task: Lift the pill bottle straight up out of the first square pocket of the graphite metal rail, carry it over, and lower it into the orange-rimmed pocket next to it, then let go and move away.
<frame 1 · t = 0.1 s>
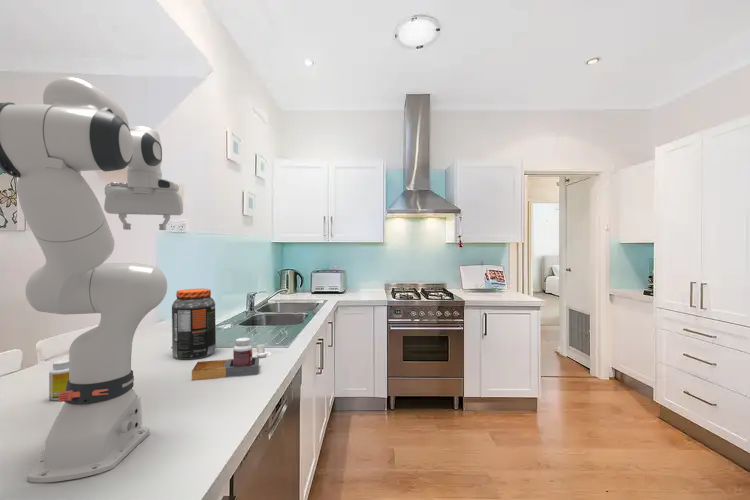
hand: (145, 229, 112), 48 cm above the counter, tool pointing down, fingers open, 8 cm apart
supplement bottle: (62, 398, 107), on the counter
white looped piece: (253, 357, 148), on the counter
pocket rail: (227, 372, 128), on the counter
supplement tub: (194, 355, 150), on the counter
pill bottle: (242, 371, 130), resting in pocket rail
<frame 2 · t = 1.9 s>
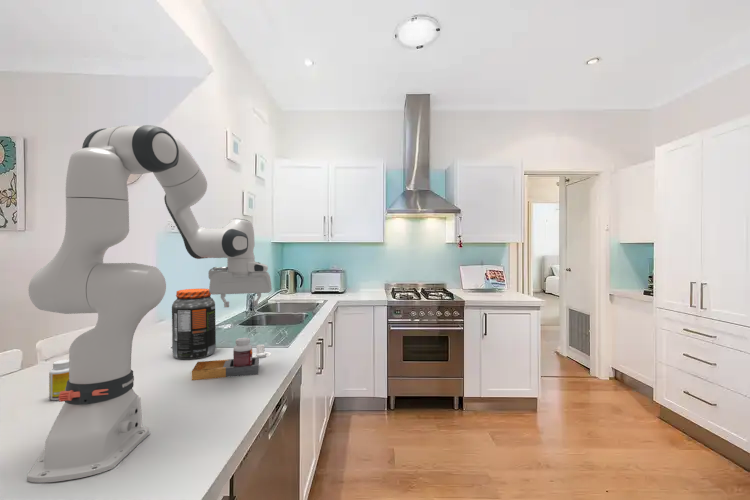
hand: (241, 306, 130), 22 cm above the counter, tool pointing down, fingers open, 8 cm apart
nothing on the counter moved.
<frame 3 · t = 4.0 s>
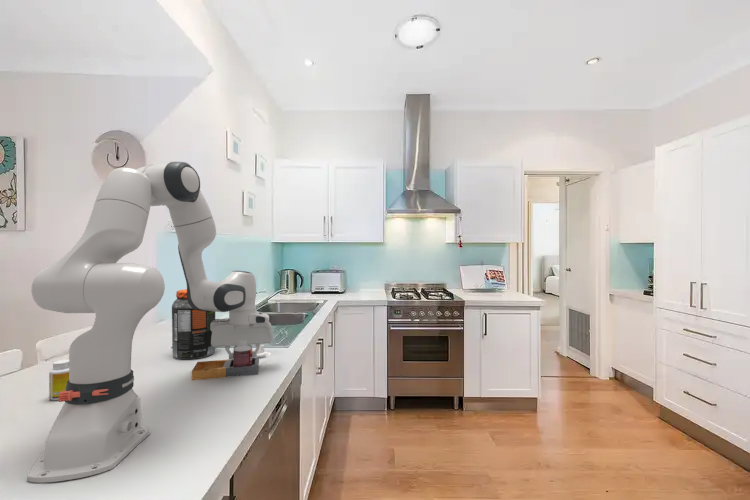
hand: (242, 357, 130), 5 cm above the counter, tool pointing down, fingers closed on pill bottle, 6 cm apart
pill bottle: (242, 371, 130), resting in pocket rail, touching gripper
everything else where it was.
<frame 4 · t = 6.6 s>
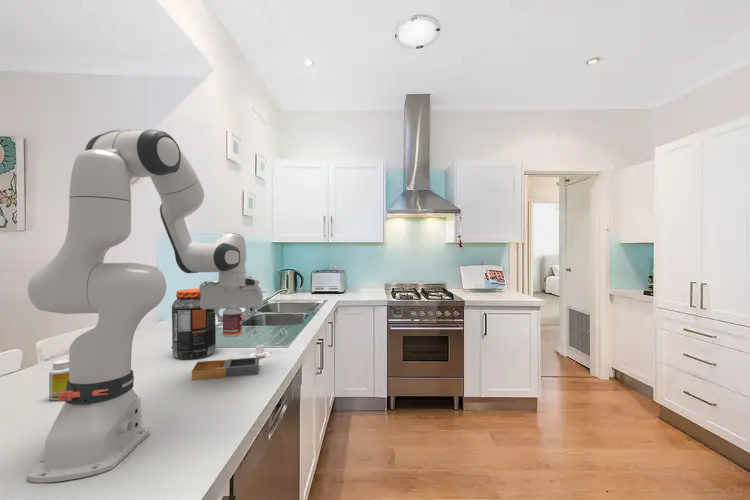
hand: (232, 321, 128), 17 cm above the counter, tool pointing down, fingers closed on pill bottle, 6 cm apart
pill bottle: (232, 336, 128), point 12 cm above the counter, touching gripper
everything else where it was.
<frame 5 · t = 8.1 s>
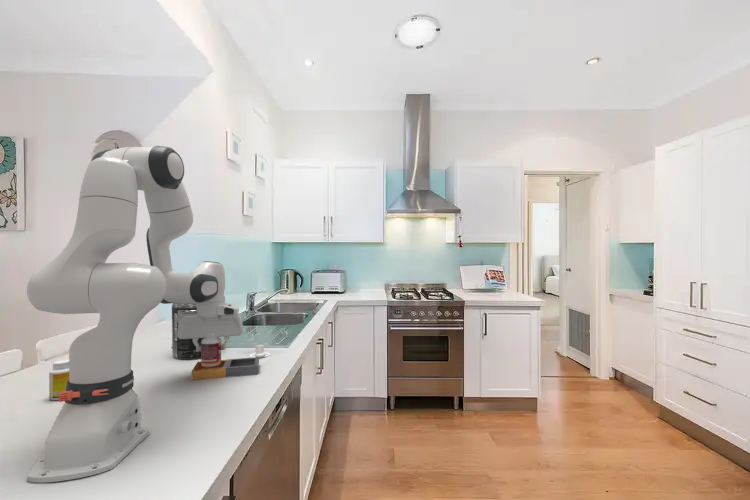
hand: (211, 350, 127), 8 cm above the counter, tool pointing down, fingers closed on pill bottle, 6 cm apart
pill bottle: (211, 365, 127), point 3 cm above the counter, touching gripper
everything else where it was.
when the fingers open (6 cm above the counter, at t = 9.4 s): pill bottle drops 1 cm, resting in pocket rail.
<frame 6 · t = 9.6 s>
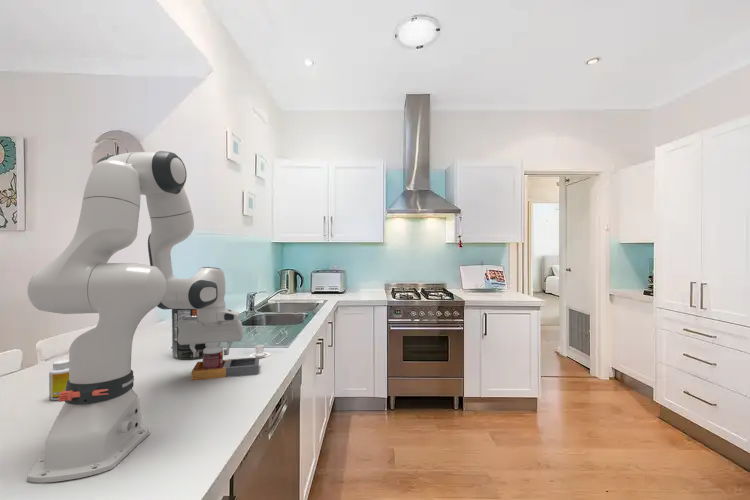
hand: (211, 355, 127), 6 cm above the counter, tool pointing down, fingers open, 8 cm apart
pill bottle: (213, 374, 127), resting in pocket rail
everything else where it was.
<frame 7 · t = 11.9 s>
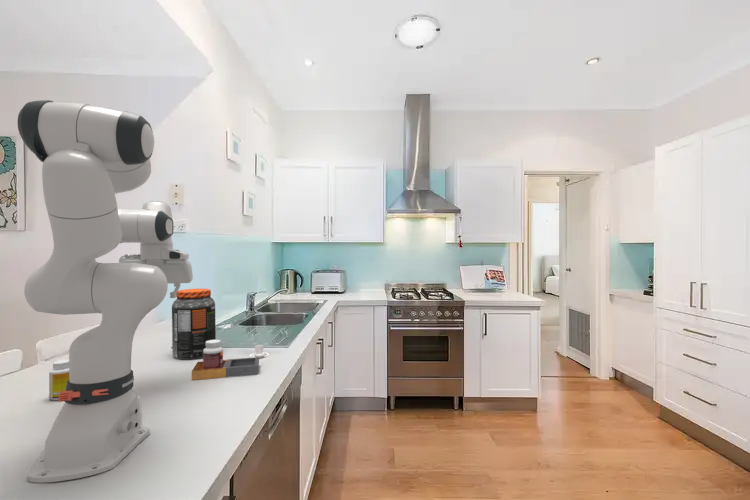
hand: (156, 298, 118), 27 cm above the counter, tool pointing down, fingers open, 8 cm apart
nothing on the counter moved.
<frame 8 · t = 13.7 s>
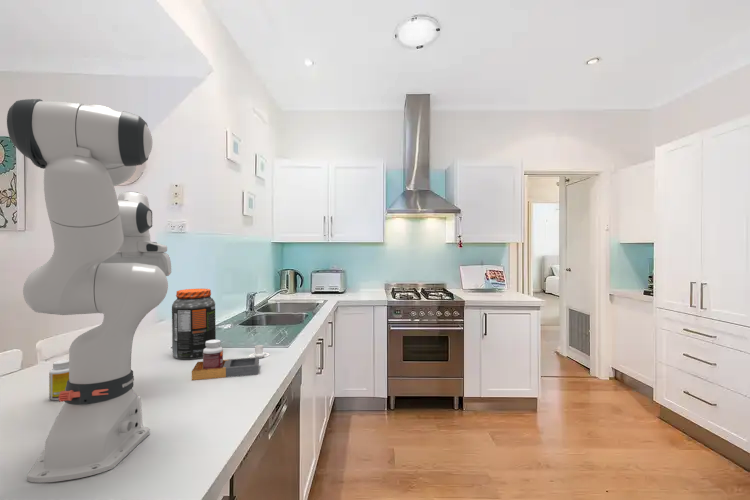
hand: (133, 291, 114), 29 cm above the counter, tool pointing down, fingers open, 8 cm apart
nothing on the counter moved.
at the end: pill bottle 0.5 cm from the target spot on the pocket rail, point 0.0 cm above the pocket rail's base; pill bottle tilted 0°; the gripper is holding nothing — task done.
